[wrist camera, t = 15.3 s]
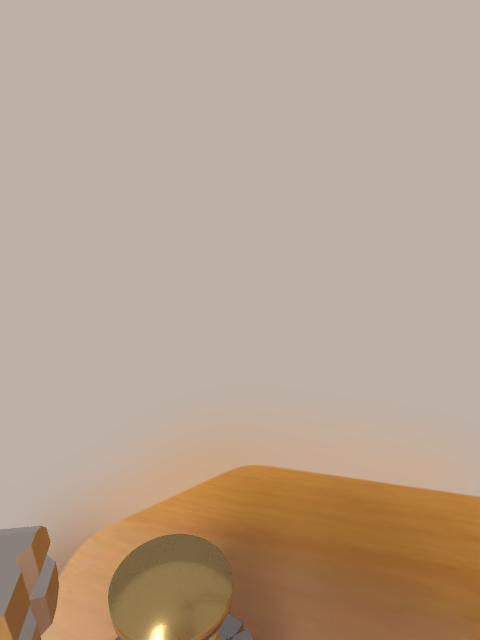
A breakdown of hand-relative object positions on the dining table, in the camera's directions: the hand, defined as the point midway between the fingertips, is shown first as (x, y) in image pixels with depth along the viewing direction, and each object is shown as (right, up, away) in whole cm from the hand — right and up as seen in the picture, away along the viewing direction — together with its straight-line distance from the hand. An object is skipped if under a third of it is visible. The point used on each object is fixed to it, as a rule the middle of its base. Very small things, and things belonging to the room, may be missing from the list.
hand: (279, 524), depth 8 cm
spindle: (-4, -21, +20) cm, 29 cm away
